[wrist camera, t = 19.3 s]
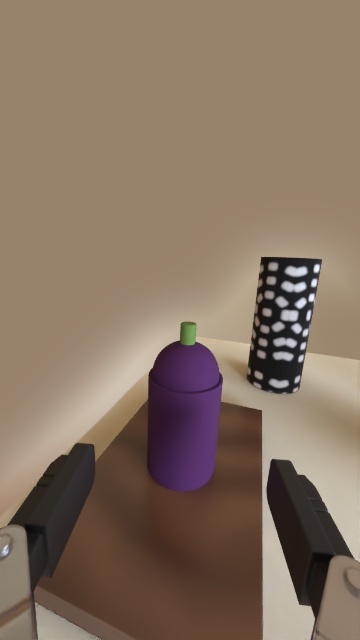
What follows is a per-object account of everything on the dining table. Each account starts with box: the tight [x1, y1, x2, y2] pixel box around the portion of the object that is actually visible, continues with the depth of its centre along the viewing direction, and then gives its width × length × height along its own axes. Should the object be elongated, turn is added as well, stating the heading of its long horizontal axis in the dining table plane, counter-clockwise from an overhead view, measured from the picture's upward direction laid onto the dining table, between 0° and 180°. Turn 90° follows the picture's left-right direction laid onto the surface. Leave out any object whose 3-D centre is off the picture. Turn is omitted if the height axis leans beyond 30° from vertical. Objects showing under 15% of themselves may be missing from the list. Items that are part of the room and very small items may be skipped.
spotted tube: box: [247, 257, 322, 394], centre depth 39 cm, size 8×8×20 cm
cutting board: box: [34, 400, 263, 640], centre depth 22 cm, size 22×14×2 cm, turn 162°
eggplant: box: [147, 322, 223, 492], centre depth 21 cm, size 6×6×13 cm
